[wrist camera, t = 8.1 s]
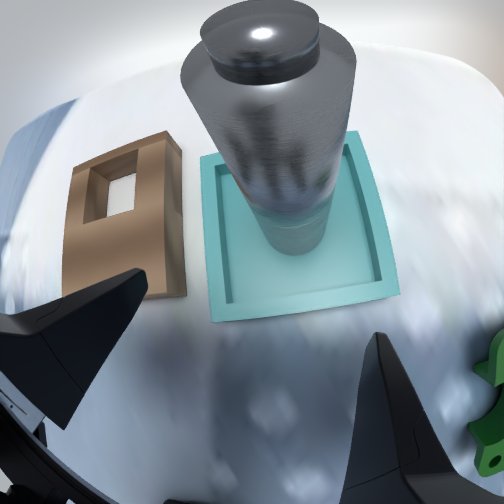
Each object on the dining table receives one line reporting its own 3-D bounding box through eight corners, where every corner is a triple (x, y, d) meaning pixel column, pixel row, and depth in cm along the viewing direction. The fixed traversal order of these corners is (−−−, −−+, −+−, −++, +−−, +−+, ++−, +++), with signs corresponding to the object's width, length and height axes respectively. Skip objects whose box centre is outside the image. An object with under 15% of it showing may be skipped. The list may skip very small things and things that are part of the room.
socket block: (186, 295, 19) (166, 292, 16) (86, 304, 20) (62, 302, 17) (181, 150, 22) (166, 130, 19) (92, 180, 23) (73, 167, 20)
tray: (387, 296, 16) (400, 294, 14) (223, 321, 18) (211, 322, 16) (352, 149, 19) (357, 130, 16) (211, 173, 20) (199, 156, 18)
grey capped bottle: (314, 264, 17) (342, 96, 3) (254, 243, 18) (127, 77, 4) (333, 206, 17) (367, -1, 4) (275, 188, 18) (215, -11, 5)
